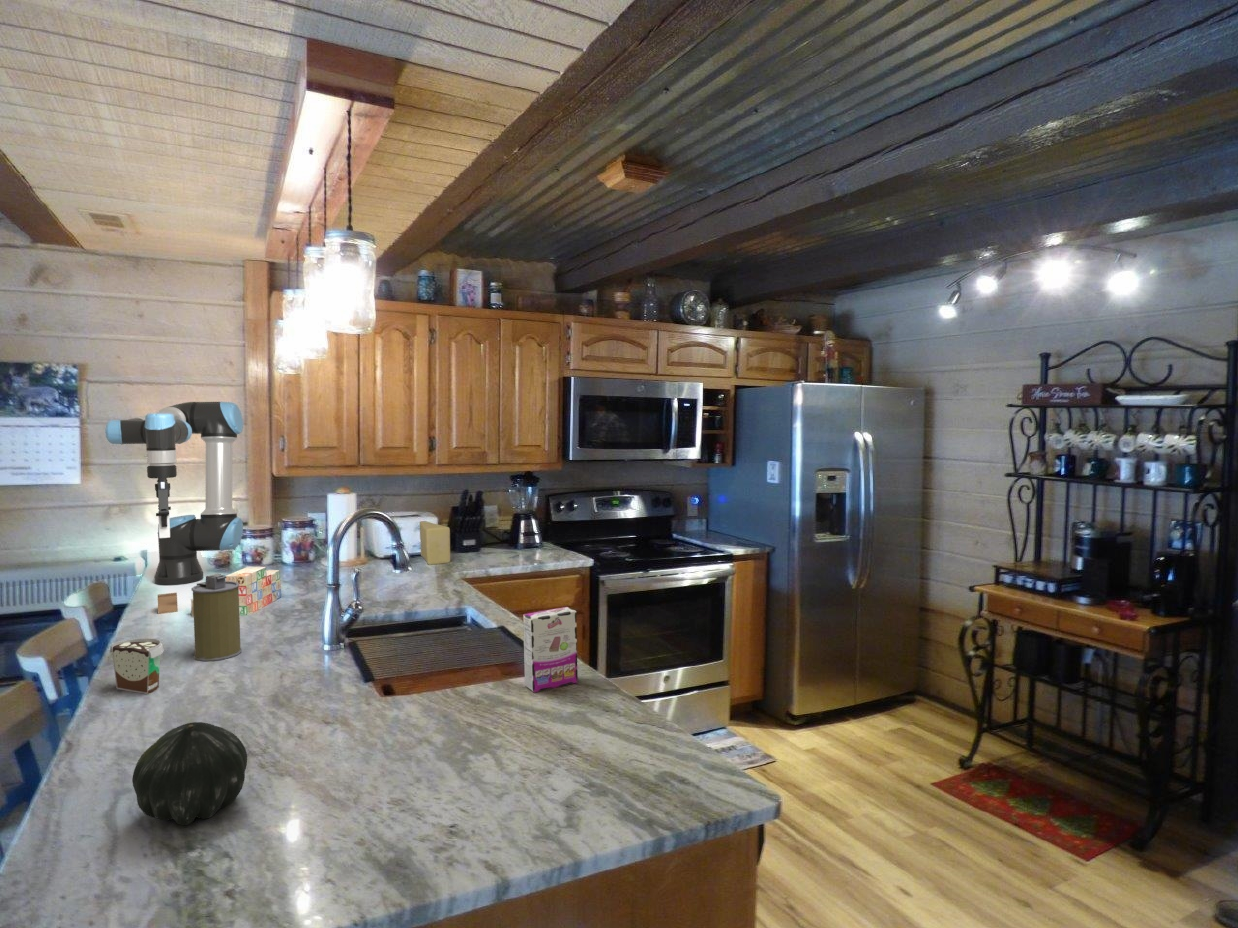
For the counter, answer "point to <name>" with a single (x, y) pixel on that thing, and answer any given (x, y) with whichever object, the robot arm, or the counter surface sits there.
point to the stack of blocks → (256, 588)
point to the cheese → (435, 543)
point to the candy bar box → (550, 648)
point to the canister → (216, 619)
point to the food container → (137, 664)
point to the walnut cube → (167, 603)
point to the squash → (190, 773)
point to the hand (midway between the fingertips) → (164, 534)
